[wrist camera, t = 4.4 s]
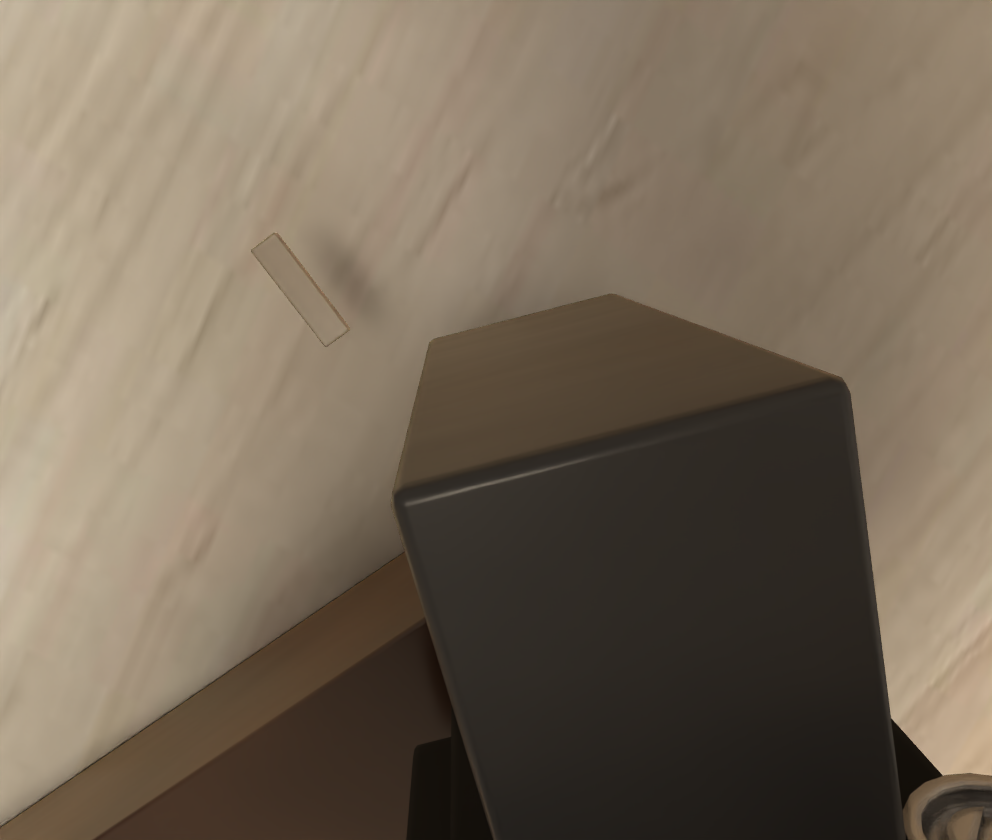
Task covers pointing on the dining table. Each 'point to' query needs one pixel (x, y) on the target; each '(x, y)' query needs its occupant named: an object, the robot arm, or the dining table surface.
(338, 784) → the rack base
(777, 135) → the dining table surface
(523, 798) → the dark grey rectangular block
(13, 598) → the dining table surface
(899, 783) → the robot arm
